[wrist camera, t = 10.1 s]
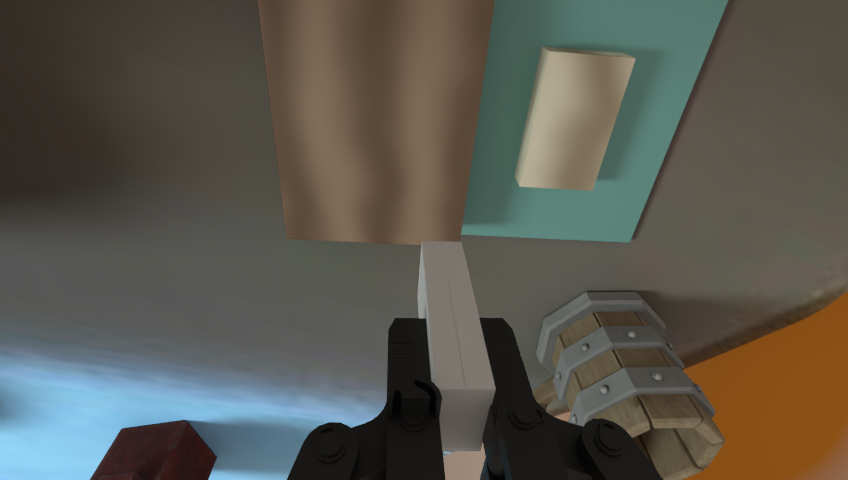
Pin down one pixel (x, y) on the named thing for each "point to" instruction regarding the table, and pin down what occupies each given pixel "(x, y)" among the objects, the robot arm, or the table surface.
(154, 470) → the toy vending machine
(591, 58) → the tile
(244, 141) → the table surface
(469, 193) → the mat
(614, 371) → the tankard
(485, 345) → the robot arm
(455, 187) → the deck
